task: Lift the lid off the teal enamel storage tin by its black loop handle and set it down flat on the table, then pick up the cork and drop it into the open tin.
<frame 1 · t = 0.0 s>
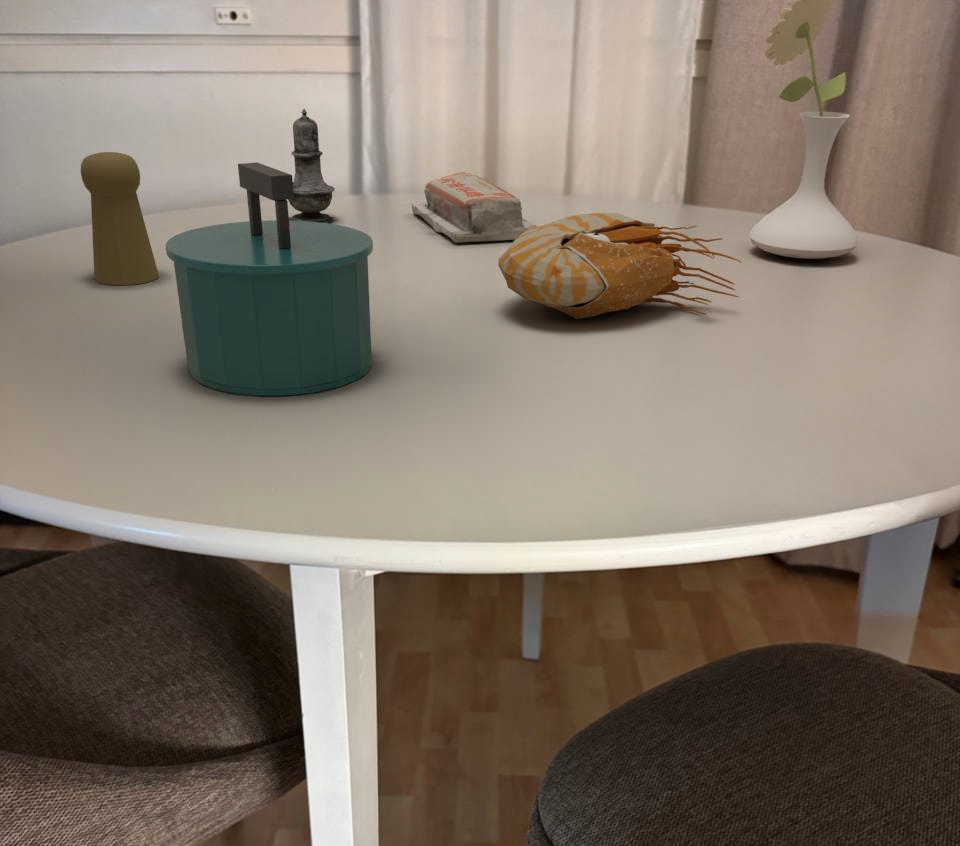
packaged product: (471, 228, 125), on the table
tin lid: (271, 249, 76), point 8 cm above the table, touching tin
tin: (281, 365, 81), on the table
nautilus: (616, 314, 95), on the table
salt shaker: (311, 222, 127), on the table
cork: (127, 279, 103), on the table
flower in vase: (793, 257, 115), on the table
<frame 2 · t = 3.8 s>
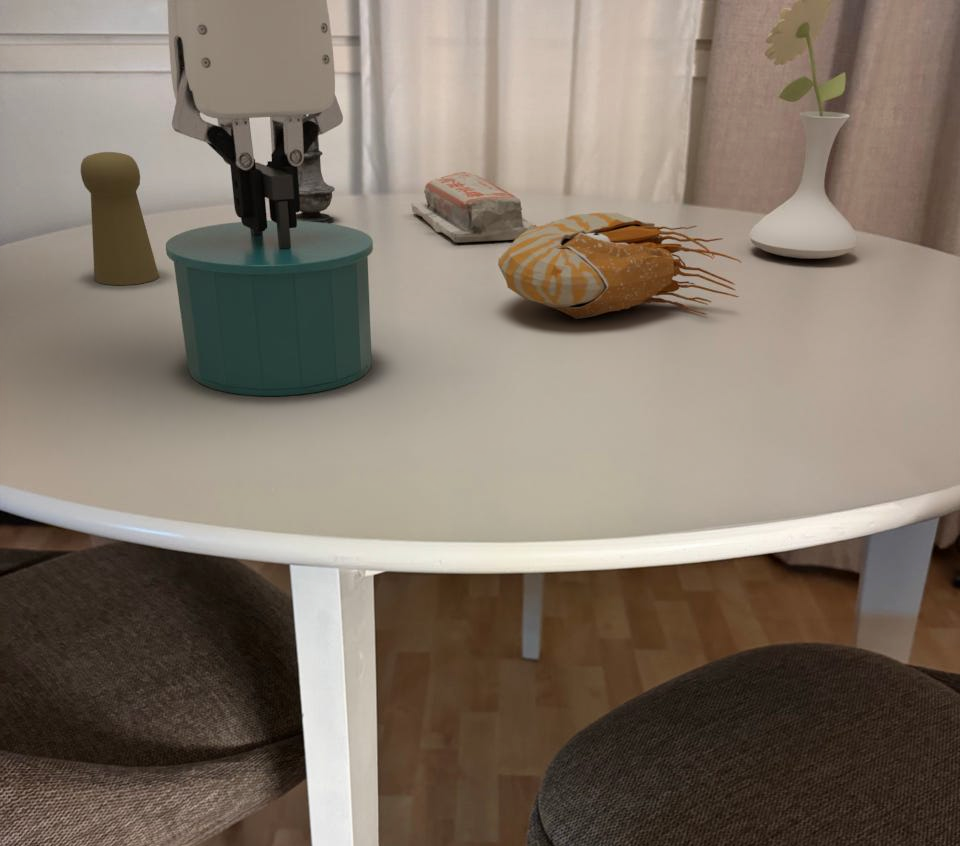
hand: (269, 224, 76), 10 cm above the table, tool pointing down, fingers closed on tin lid
tin lid: (271, 249, 76), point 8 cm above the table, touching gripper, tin
everything else where it was.
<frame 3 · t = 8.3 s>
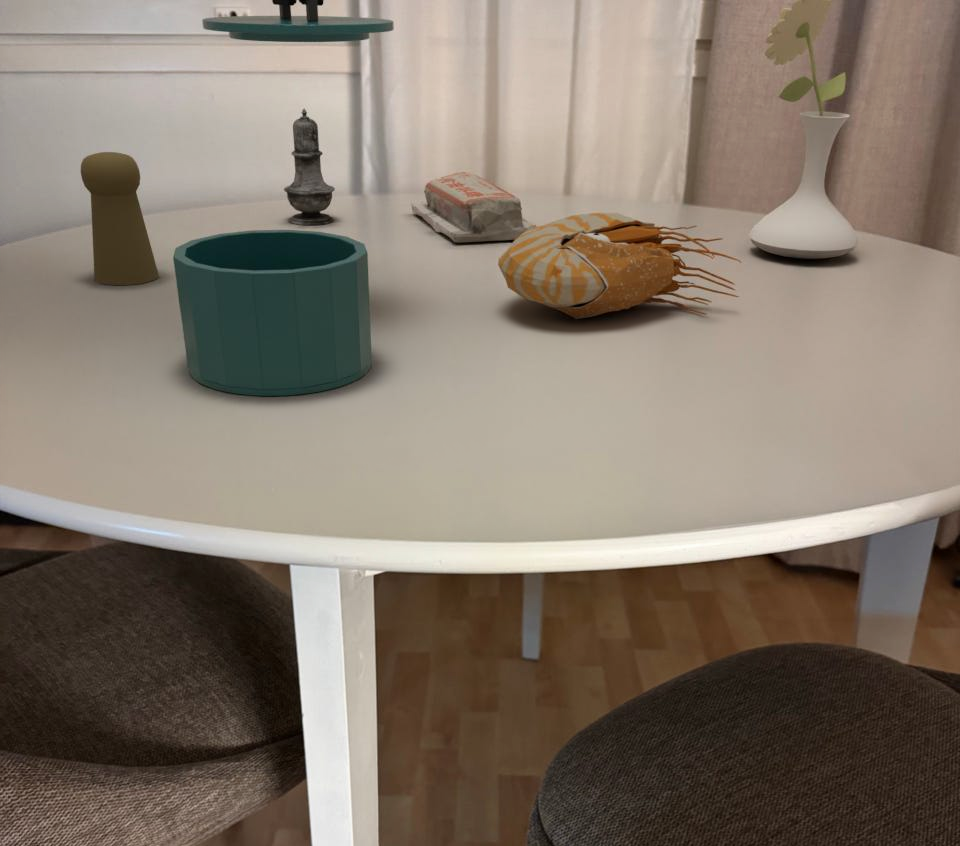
hand: (297, 2, 81), 23 cm above the table, tool pointing down, fingers closed on tin lid
tin lid: (299, 28, 82), point 22 cm above the table, touching gripper
everything else where it was.
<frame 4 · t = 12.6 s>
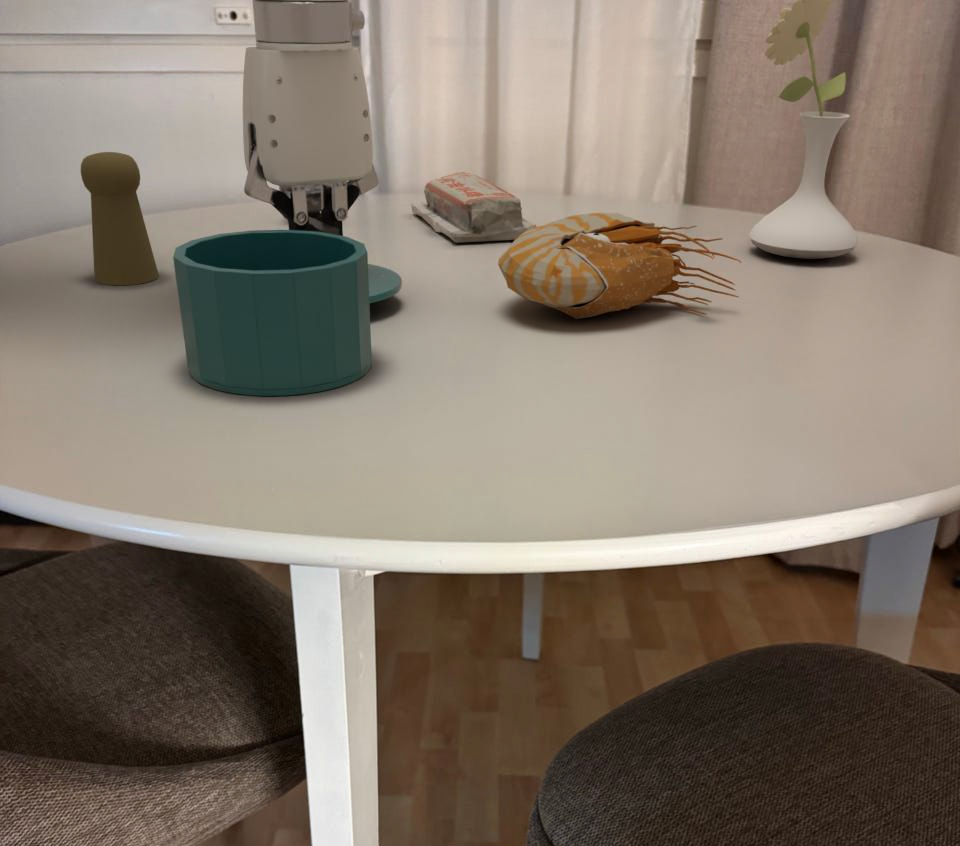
hand: (318, 266, 94), 3 cm above the table, tool pointing down, fingers closed on tin lid
tin lid: (319, 286, 95), point 2 cm above the table, touching gripper
everything else where it was.
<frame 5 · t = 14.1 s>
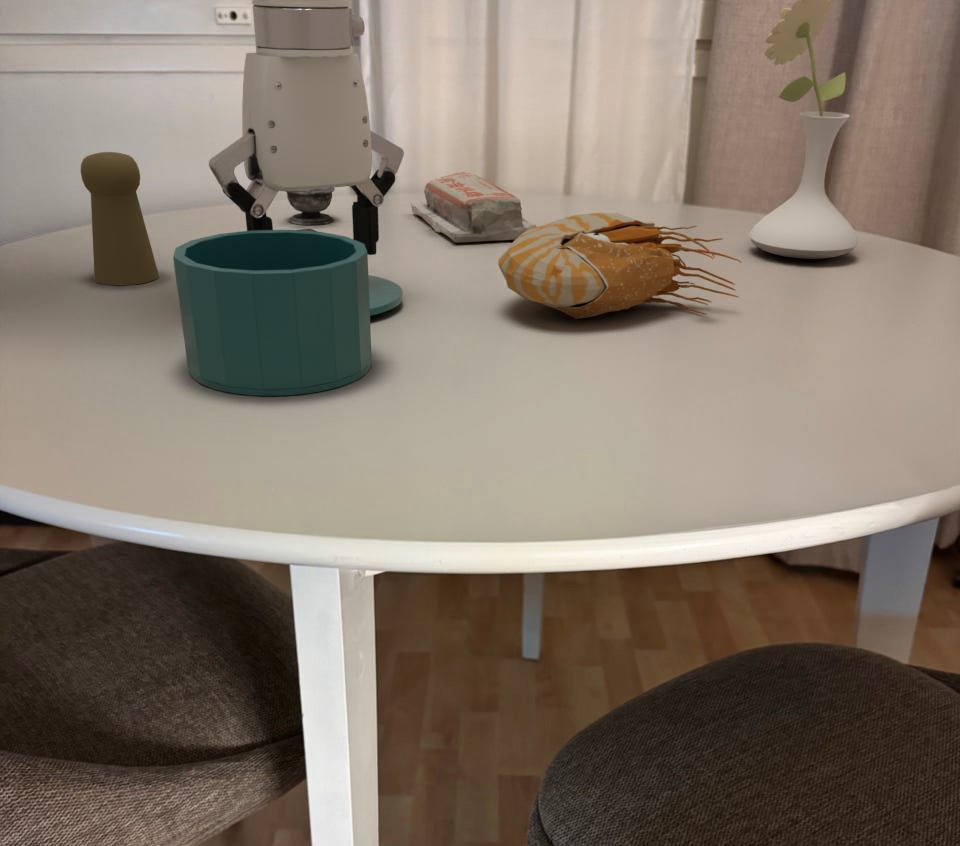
hand: (316, 257, 93), 4 cm above the table, tool pointing down, fingers open, 9 cm apart
tin lid: (321, 298, 95), point 1 cm above the table
everything else where it was.
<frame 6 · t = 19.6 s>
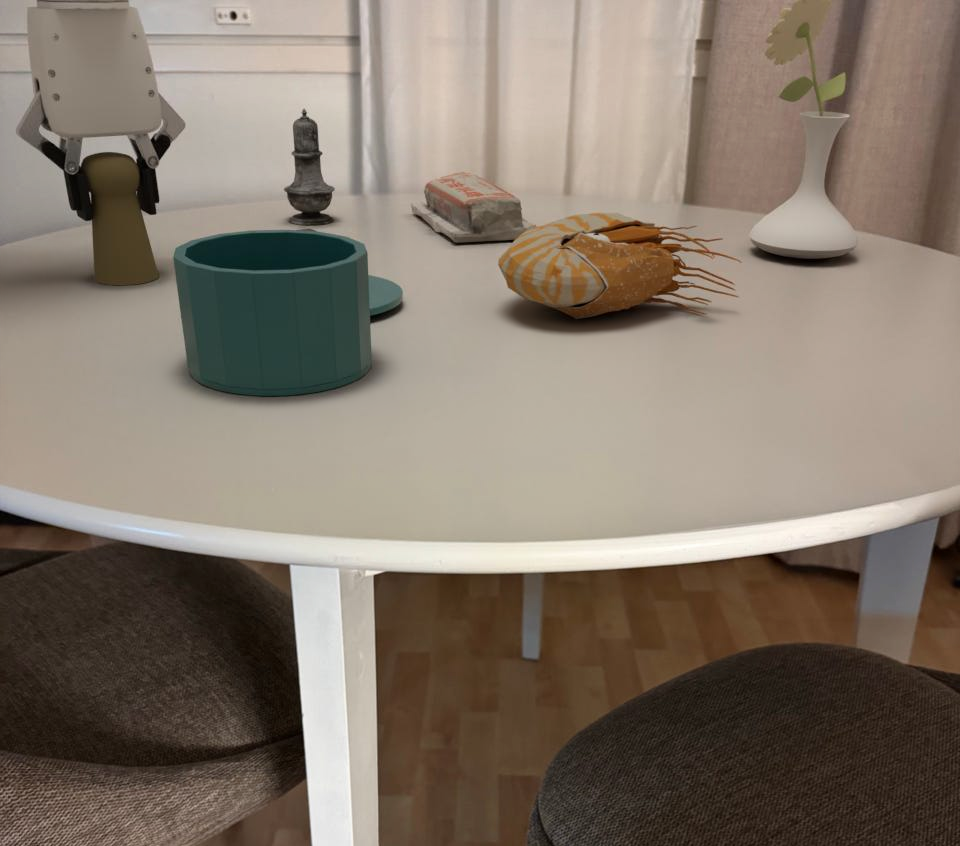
hand: (116, 213, 99), 6 cm above the table, tool pointing down, fingers closed on cork, 5 cm apart
cork: (127, 279, 103), on the table, touching gripper
everything else where it was.
when the fingers open (12 cm above the table, at t = 26.8 s): cork drops 5 cm, resting on tin.
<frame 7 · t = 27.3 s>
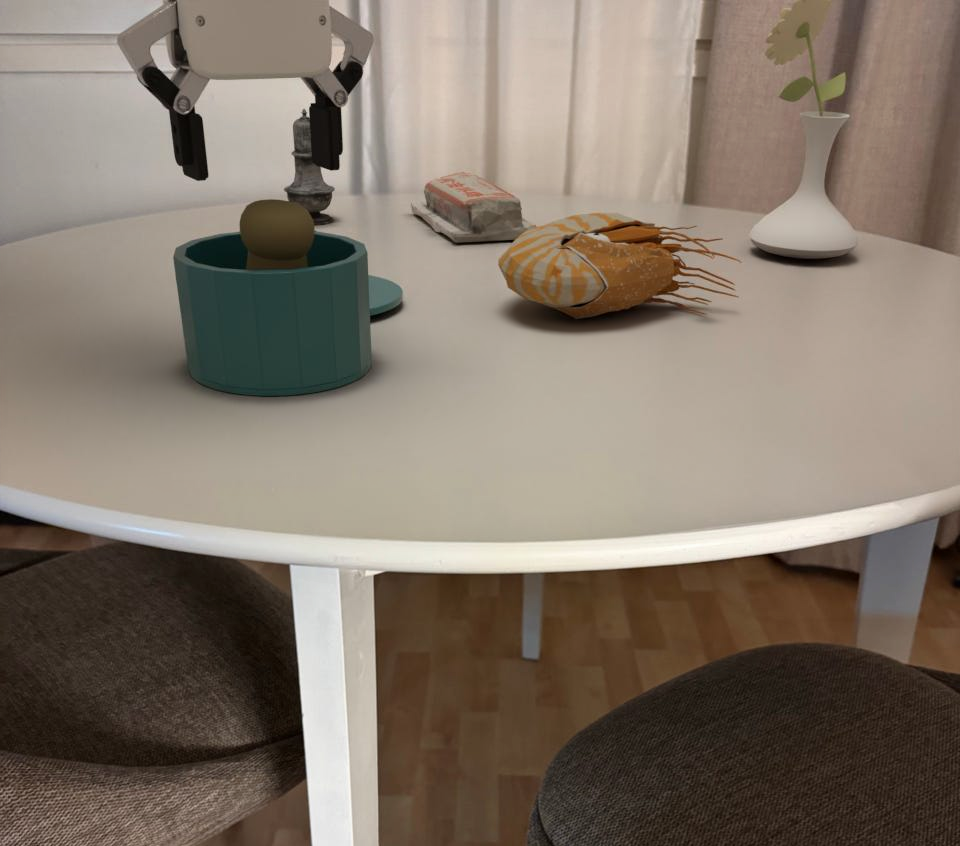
hand: (262, 172, 74), 14 cm above the table, tool pointing down, fingers open, 9 cm apart
cork: (277, 356, 81), point 1 cm above the table, touching tin
everything else where it was.
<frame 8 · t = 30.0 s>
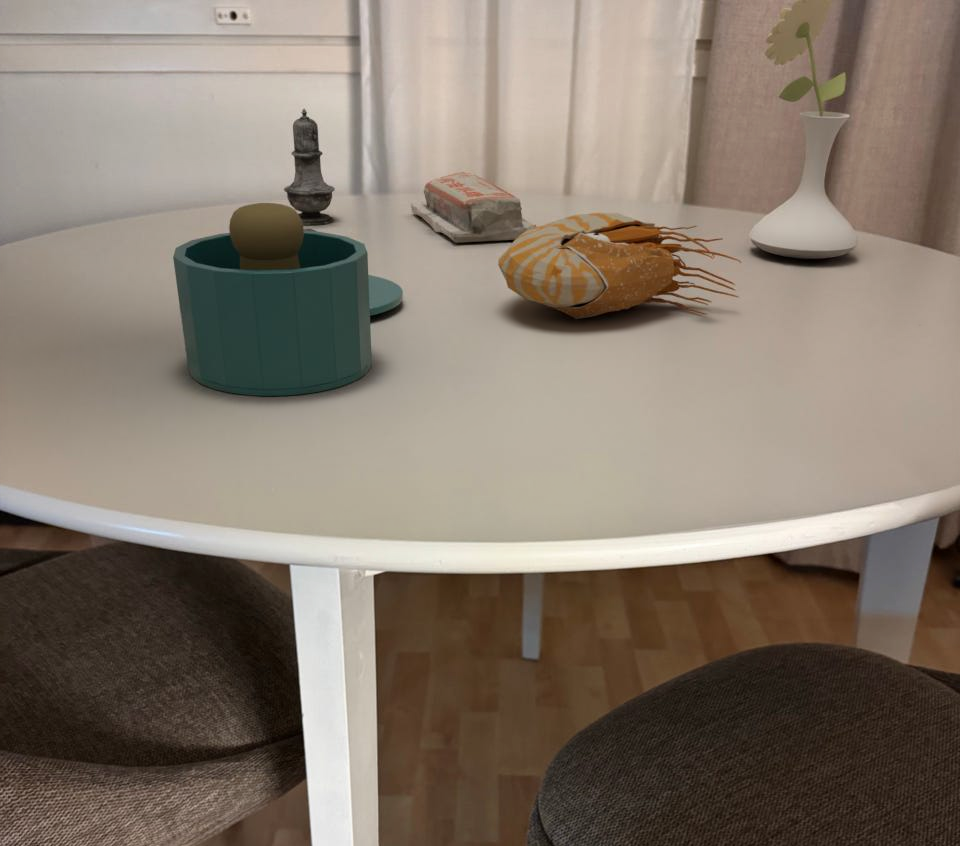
nothing on the table moved.
at the end: tin lid inside the target area (0.4 cm from its centre), point 0.6 cm above the table; tin lid tilted 0°; cork inside the target area in the tin (0.2 cm from its centre), point 0.3 cm above the tin's base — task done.
